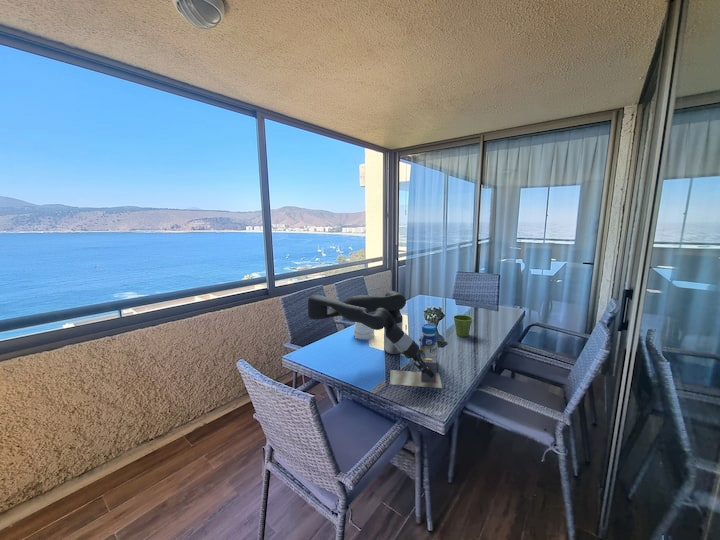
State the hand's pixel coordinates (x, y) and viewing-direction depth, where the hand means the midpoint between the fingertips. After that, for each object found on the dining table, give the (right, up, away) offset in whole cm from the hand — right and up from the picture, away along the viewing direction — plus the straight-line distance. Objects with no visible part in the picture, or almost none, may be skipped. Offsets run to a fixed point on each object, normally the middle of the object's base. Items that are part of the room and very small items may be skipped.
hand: (432, 371), depth 126 cm
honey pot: (-29, +3, +55) cm, 62 cm away
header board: (-7, -5, +2) cm, 9 cm away
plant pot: (+32, +3, +55) cm, 64 cm away
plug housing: (-2, -4, +1) cm, 4 cm away
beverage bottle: (+2, -3, +18) cm, 18 cm away
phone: (+12, +1, +44) cm, 46 cm away
